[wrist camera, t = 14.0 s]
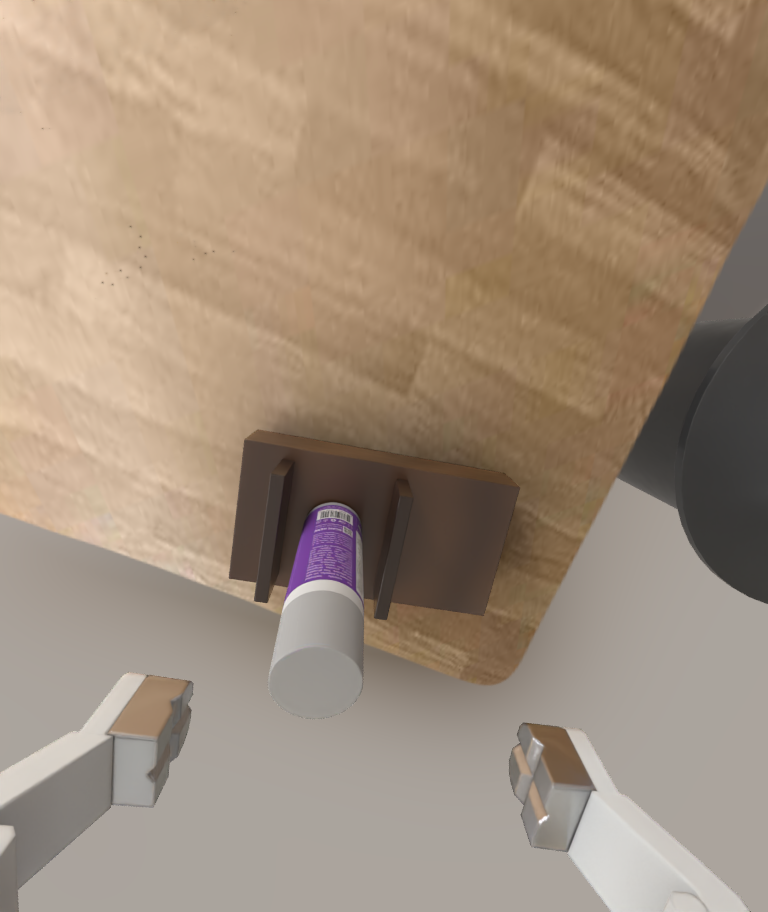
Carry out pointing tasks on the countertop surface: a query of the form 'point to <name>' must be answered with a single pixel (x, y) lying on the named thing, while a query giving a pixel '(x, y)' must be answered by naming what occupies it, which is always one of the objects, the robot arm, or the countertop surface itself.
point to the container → (322, 619)
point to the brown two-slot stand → (374, 520)
